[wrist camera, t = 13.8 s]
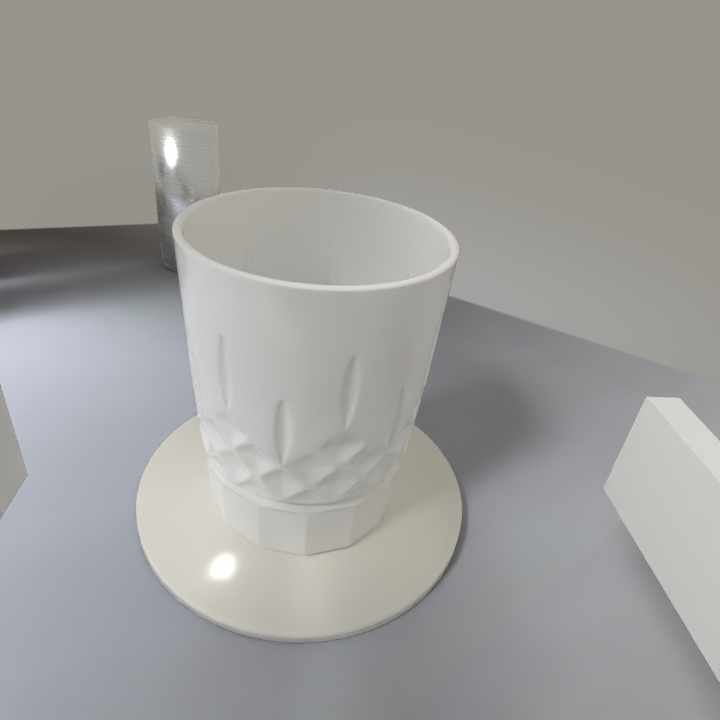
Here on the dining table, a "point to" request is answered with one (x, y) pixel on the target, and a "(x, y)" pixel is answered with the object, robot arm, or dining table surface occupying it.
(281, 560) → the coaster
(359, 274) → the white cup
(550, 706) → the dining table surface
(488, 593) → the dining table surface
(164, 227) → the cylinder
